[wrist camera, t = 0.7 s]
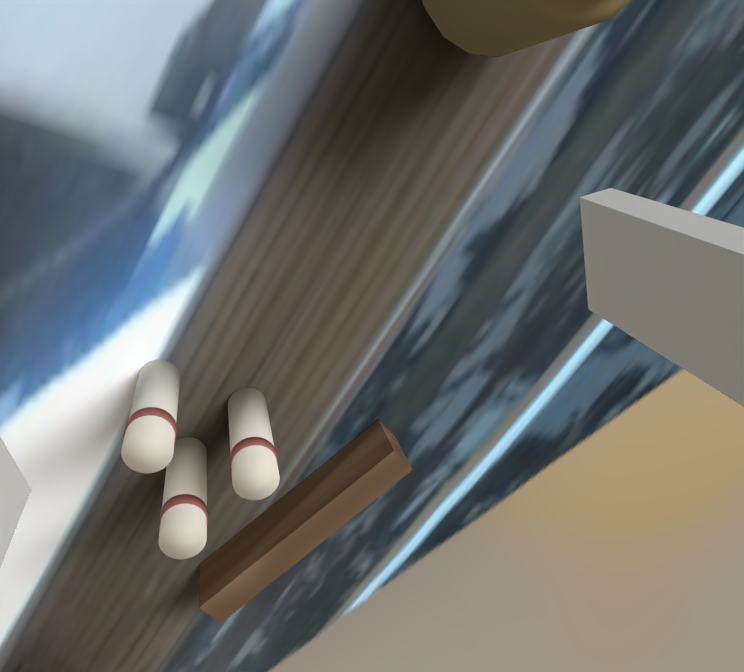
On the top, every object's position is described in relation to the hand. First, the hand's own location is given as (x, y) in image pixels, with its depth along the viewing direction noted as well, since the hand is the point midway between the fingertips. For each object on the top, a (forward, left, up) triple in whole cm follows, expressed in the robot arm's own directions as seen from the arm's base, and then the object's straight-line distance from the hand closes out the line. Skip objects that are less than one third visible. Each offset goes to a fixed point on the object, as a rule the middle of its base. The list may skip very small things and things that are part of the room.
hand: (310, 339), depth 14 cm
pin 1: (+11, -14, -24) cm, 30 cm away
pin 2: (+11, -9, -24) cm, 28 cm away
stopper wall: (+19, -12, -24) cm, 33 cm away
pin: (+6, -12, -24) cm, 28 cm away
